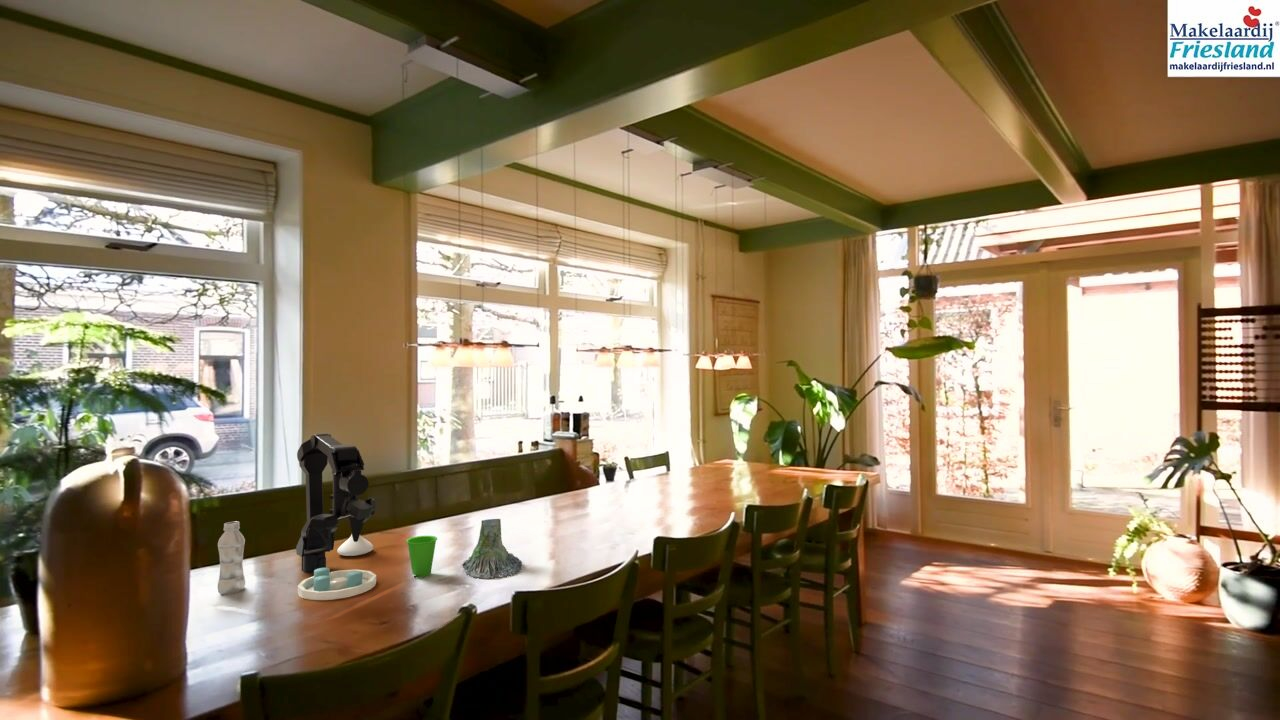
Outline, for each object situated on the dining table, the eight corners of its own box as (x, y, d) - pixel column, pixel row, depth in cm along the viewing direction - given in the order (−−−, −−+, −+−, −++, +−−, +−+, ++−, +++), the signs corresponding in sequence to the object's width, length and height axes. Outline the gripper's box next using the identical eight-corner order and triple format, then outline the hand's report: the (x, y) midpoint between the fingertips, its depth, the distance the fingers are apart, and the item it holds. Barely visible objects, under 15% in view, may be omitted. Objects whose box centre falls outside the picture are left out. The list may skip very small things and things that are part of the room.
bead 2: (355, 592, 177) (355, 576, 177) (343, 591, 178) (343, 574, 178) (365, 587, 181) (365, 572, 181) (354, 586, 182) (354, 570, 182)
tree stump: (462, 584, 188) (459, 522, 192) (462, 580, 207) (459, 523, 211) (525, 575, 193) (520, 514, 197) (519, 572, 212) (515, 517, 216)
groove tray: (281, 599, 175) (281, 588, 175) (336, 576, 194) (336, 567, 194) (339, 607, 169) (339, 595, 169) (390, 583, 188) (390, 573, 188)
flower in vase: (361, 547, 226) (362, 477, 227) (380, 552, 220) (380, 480, 220) (325, 556, 216) (326, 482, 216) (343, 562, 209) (344, 485, 210)
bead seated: (310, 587, 182) (310, 571, 182) (321, 582, 186) (321, 567, 186) (321, 588, 181) (321, 572, 181) (332, 583, 184) (332, 568, 184)
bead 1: (321, 591, 178) (321, 575, 178) (333, 592, 177) (333, 576, 177) (310, 596, 174) (310, 579, 175) (321, 597, 173) (321, 580, 173)
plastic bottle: (250, 591, 181) (251, 521, 182) (228, 599, 175) (229, 526, 175) (234, 589, 183) (234, 519, 184) (211, 596, 177) (212, 524, 178)
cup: (427, 580, 190) (427, 543, 190) (400, 579, 191) (400, 542, 192) (442, 571, 198) (442, 536, 199) (416, 570, 200) (416, 535, 200)
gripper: (341, 498, 170) (341, 557, 170) (389, 486, 188) (389, 539, 187) (309, 496, 173) (308, 553, 173) (359, 484, 191) (359, 536, 191)
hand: (343, 545), depth 181 cm, fingers open, 9 cm apart
